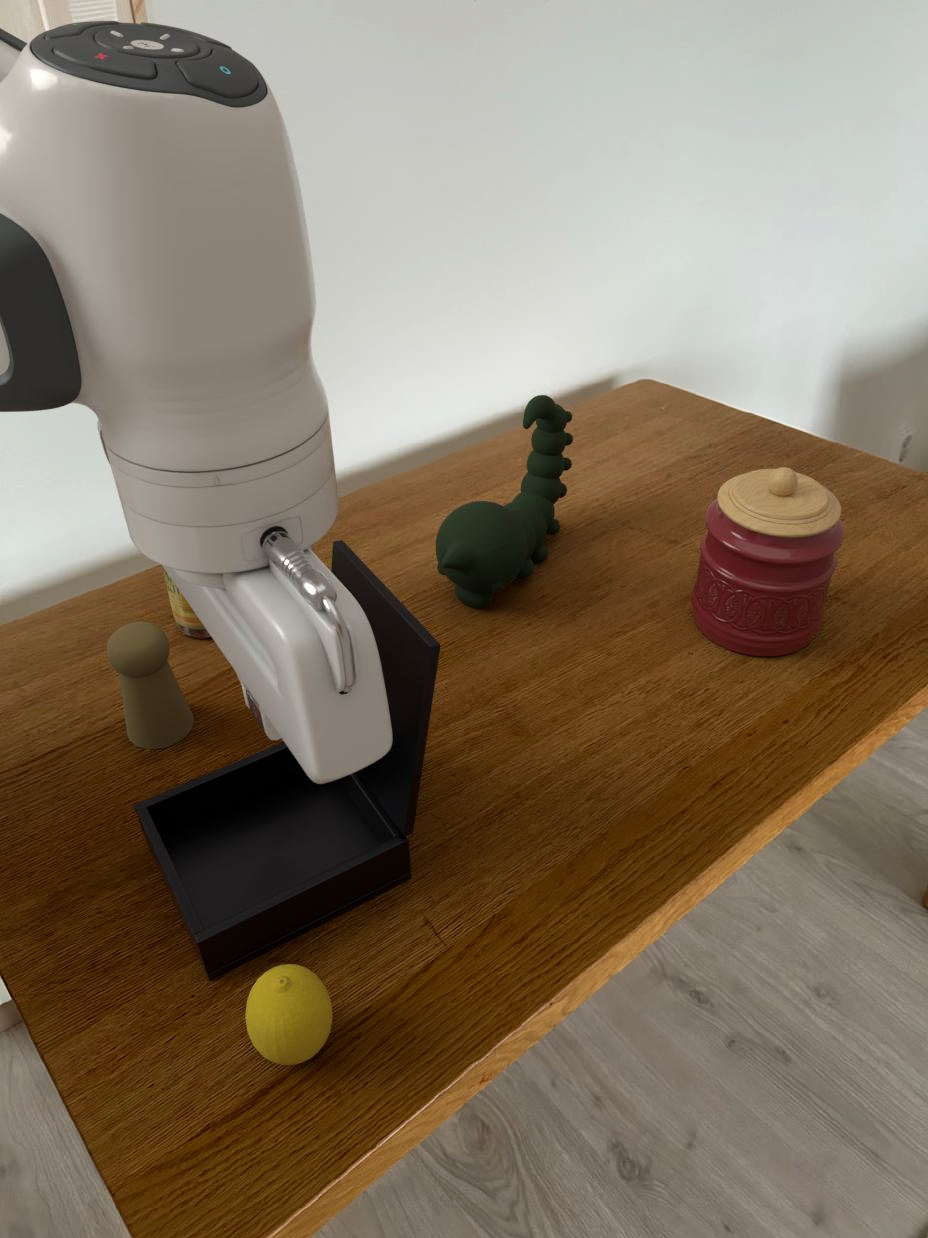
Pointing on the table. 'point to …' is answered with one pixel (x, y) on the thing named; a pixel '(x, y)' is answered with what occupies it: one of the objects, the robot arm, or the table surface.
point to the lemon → (288, 1014)
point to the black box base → (268, 854)
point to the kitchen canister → (767, 562)
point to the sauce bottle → (184, 612)
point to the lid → (395, 686)
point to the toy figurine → (509, 516)
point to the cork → (148, 686)
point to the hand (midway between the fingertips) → (274, 719)
